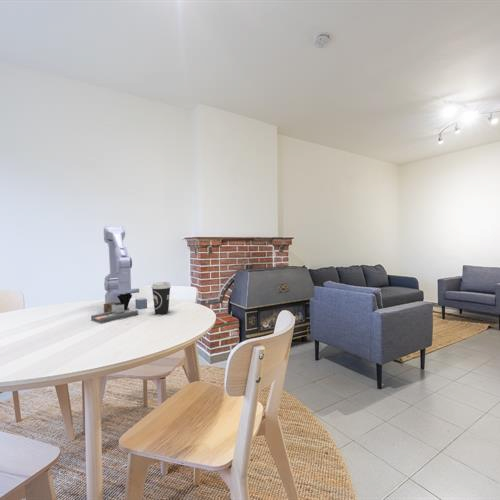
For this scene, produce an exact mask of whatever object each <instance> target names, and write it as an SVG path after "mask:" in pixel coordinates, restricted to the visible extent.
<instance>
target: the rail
mask: <svg viewBox="0 0 500 500" xmlns="http://www.w3.org/2000/svg"><path fill="white" fill-rule="evenodd" d="M138 315H139V309H136V310H131V309H130V307H128V308H127V310H124V313H122V314H118V315H114V314H112V311H111V312H107V313H104V312H102V313H98V314H91V316H90V319H91V321H93V322H96V323H99V324H103V323H104V324H105V323H110V322H115V321H117V320H121V319H126V318H130V317H134V316H138Z"/></svg>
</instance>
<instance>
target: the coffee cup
mask: <svg viewBox="0 0 500 500" xmlns="http://www.w3.org/2000/svg"><path fill="white" fill-rule="evenodd" d="M150 288H151V289H152V290H151V291H152V297H153V298H152V299H153V307H154V310H153V311H154V314H155V315H157V314H162V315H167V314H169V308H170V307H169V306H170V294H171V288H172V286H171V284H170V282H167V281H165V282H164V281H163V282H161V281H160V282H153V283H152V285H151V287H150Z"/></svg>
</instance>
